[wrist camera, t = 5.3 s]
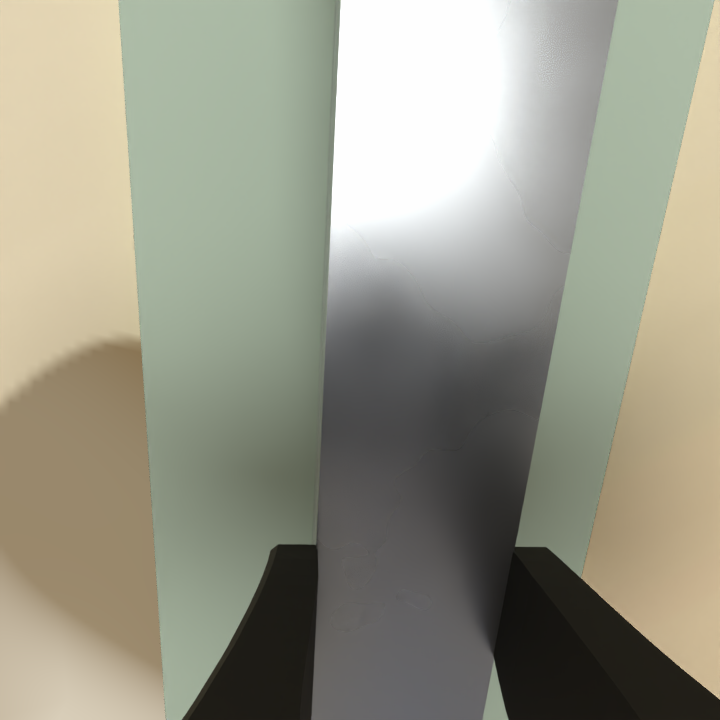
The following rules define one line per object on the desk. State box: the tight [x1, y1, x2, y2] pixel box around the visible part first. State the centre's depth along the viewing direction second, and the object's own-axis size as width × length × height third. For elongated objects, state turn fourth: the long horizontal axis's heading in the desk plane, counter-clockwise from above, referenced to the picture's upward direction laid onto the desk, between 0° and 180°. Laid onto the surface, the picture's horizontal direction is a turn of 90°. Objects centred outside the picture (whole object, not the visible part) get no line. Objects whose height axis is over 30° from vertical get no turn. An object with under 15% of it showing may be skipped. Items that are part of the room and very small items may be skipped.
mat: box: [119, 0, 714, 720], centre depth 14 cm, size 22×10×1 cm, turn 176°
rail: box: [311, 0, 618, 720], centre depth 11 cm, size 19×3×3 cm, turn 176°
